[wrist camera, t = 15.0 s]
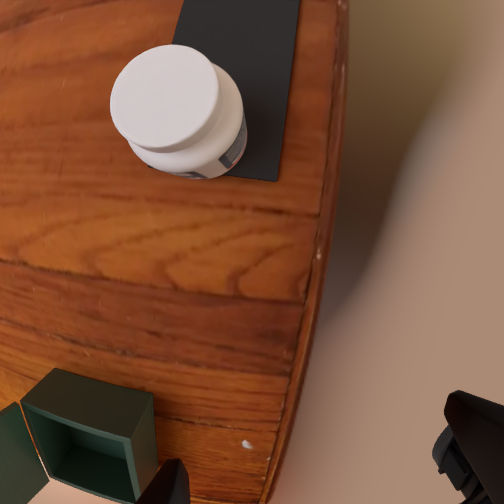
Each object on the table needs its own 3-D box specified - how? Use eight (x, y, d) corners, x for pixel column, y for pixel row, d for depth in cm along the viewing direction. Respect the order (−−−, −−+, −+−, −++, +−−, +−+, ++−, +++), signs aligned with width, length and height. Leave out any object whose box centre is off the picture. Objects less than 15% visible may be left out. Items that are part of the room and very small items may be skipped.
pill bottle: (226, 84, 18) (207, 8, 9) (261, 158, 18) (267, 123, 10) (149, 121, 18) (80, 73, 9) (180, 194, 19) (122, 192, 10)
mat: (275, 182, 19) (276, 181, 19) (150, 167, 19) (147, 166, 18) (301, -18, 17) (302, -23, 16) (195, -26, 16) (193, -31, 16)
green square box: (152, 393, 22) (130, 438, 16) (158, 466, 23) (144, 510, 18) (54, 367, 22) (19, 400, 16) (72, 442, 23) (49, 477, 18)
